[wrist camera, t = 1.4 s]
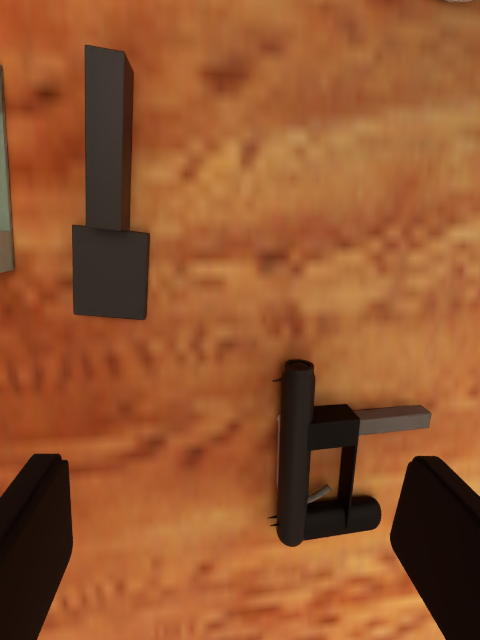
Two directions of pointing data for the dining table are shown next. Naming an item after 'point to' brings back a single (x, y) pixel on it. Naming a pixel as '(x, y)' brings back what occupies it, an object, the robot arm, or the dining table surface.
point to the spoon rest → (5, 194)
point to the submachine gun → (323, 433)
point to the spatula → (109, 197)
